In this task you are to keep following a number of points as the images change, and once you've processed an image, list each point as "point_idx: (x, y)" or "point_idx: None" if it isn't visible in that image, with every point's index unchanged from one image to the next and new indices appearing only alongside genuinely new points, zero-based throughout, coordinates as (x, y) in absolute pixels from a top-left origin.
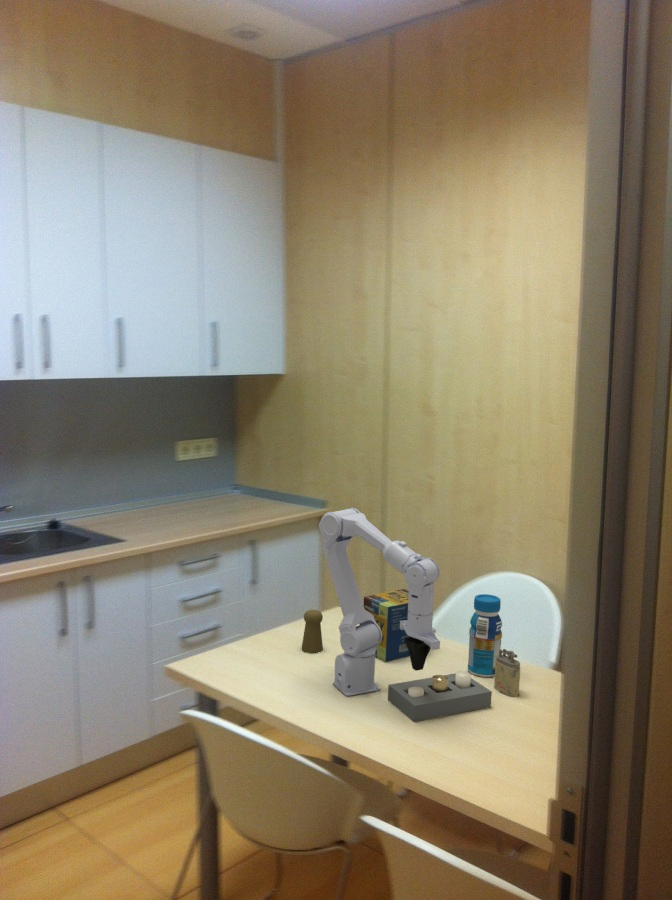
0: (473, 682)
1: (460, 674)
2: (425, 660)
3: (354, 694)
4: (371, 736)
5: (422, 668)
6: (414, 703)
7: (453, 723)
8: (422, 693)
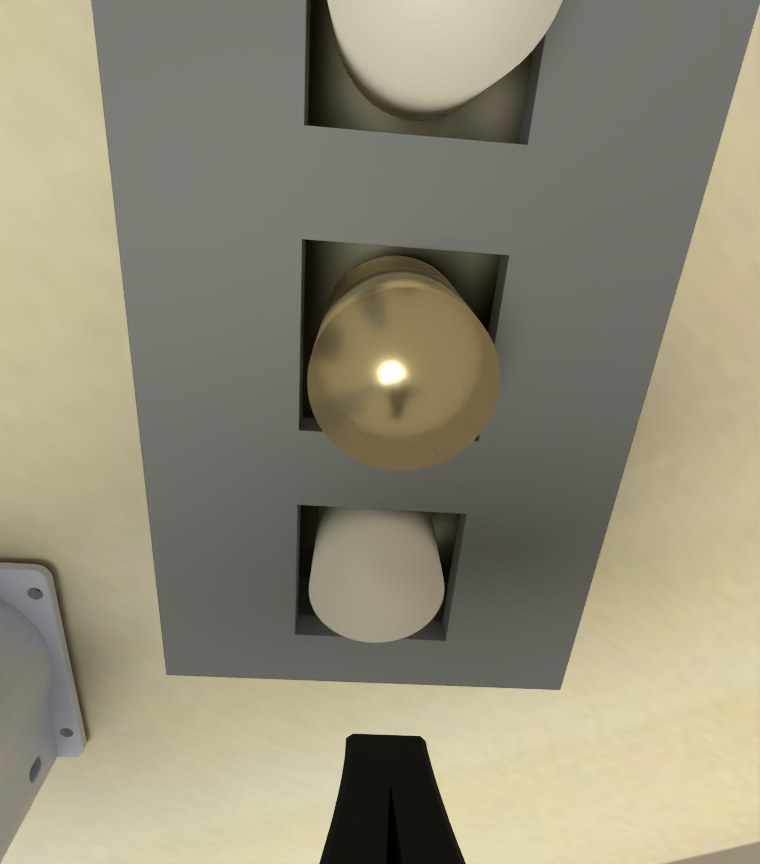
0: None
1: (443, 18)
2: (461, 858)
3: (80, 714)
4: (529, 807)
5: (425, 753)
6: (531, 675)
7: (690, 410)
8: (440, 566)
